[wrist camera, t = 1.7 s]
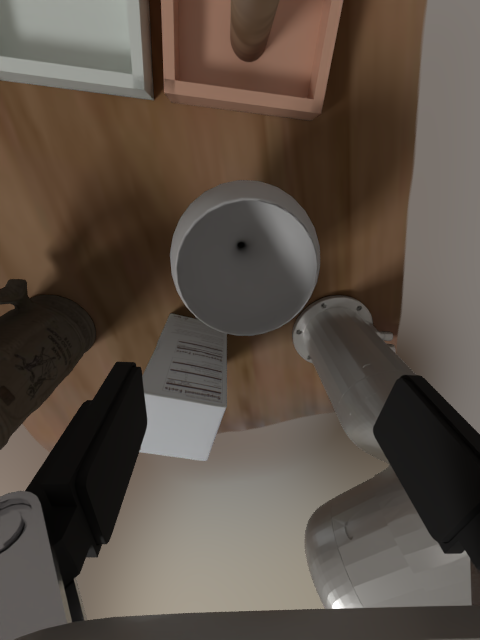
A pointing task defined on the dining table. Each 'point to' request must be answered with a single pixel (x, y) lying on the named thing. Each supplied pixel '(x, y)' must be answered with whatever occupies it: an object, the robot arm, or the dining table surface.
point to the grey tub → (78, 45)
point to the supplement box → (185, 389)
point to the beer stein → (36, 350)
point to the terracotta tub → (249, 77)
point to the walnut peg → (251, 27)
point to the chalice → (245, 258)
